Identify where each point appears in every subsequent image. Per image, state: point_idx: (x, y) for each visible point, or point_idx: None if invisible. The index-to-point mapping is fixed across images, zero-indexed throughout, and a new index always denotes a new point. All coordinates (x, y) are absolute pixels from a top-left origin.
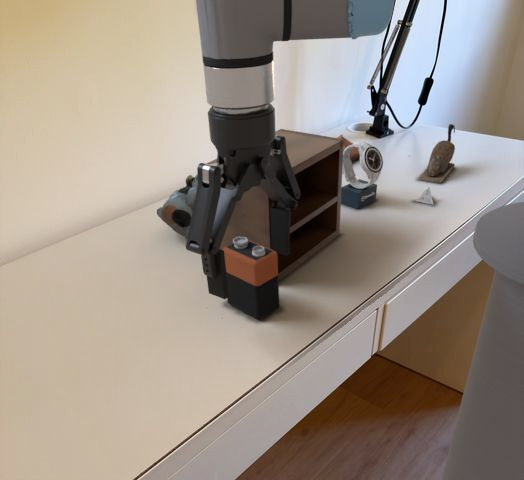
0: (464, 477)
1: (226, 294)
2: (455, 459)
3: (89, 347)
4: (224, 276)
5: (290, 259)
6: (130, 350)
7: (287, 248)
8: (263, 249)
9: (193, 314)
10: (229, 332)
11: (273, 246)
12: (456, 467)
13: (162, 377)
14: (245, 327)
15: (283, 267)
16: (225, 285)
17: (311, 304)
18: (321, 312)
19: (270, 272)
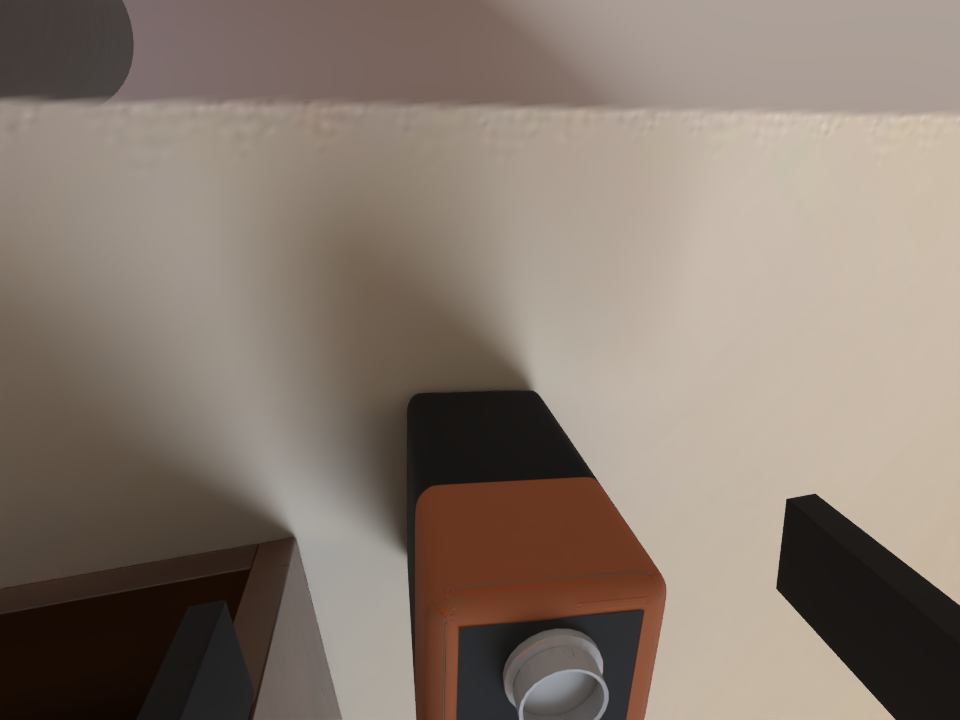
0: (27, 12)
1: (815, 509)
2: (5, 45)
3: None
4: (915, 591)
5: (82, 626)
6: None
7: (202, 641)
8: (554, 674)
9: None
10: (657, 420)
11: (241, 713)
12: (19, 39)
13: (947, 396)
14: (598, 400)
15: (169, 596)
16: (860, 546)
17: (276, 307)
18: (293, 223)
19: (506, 507)
